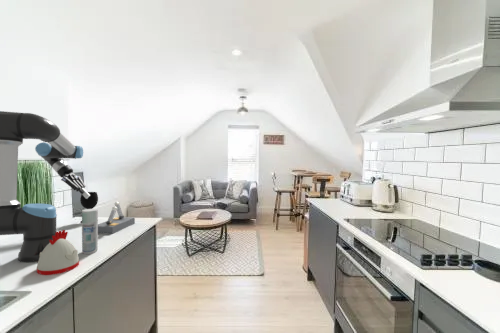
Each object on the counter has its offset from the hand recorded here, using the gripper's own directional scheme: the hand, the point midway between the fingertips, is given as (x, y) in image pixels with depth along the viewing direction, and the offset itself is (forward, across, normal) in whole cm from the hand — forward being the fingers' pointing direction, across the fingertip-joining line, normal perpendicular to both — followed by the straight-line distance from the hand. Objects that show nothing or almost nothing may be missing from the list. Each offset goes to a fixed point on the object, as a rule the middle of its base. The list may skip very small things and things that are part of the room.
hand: (88, 196), depth 158 cm
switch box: (+24, +8, +5) cm, 25 cm away
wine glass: (+4, +19, +24) cm, 32 cm away
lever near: (+21, +1, +2) cm, 21 cm away
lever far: (+21, +15, +2) cm, 25 cm away
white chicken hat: (+34, -50, -4) cm, 61 cm away
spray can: (+34, -32, -4) cm, 47 cm away
